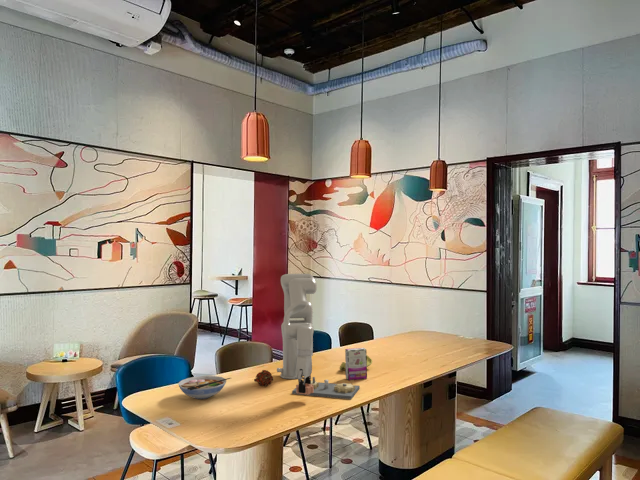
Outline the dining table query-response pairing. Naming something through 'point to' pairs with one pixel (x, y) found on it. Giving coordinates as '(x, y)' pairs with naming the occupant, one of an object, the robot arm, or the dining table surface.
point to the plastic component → (343, 365)
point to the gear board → (332, 390)
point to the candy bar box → (356, 363)
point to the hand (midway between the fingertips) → (304, 389)
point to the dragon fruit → (264, 378)
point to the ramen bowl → (202, 386)
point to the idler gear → (308, 389)
